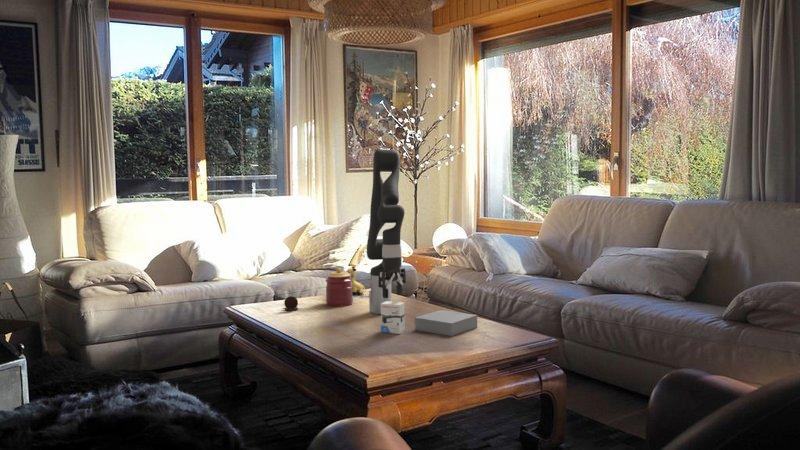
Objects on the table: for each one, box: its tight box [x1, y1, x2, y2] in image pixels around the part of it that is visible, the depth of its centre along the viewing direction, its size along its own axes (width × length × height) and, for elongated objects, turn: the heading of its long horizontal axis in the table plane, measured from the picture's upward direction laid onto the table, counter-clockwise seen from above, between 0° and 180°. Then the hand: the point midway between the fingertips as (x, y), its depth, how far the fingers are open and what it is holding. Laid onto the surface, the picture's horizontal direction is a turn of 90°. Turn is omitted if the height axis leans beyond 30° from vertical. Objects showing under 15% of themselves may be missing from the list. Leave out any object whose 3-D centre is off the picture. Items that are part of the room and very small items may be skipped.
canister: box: [325, 267, 354, 307], centre depth 335 cm, size 13×13×18 cm
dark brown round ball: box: [282, 295, 299, 312], centre depth 322 cm, size 8×8×7 cm
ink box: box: [380, 301, 406, 335], centre depth 277 cm, size 8×5×12 cm, turn 68°
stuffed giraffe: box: [346, 265, 369, 299], centre depth 358 cm, size 16×18×16 cm
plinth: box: [414, 309, 478, 337], centre depth 281 cm, size 18×18×5 cm
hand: (392, 296), depth 276 cm, fingers open, 8 cm apart
